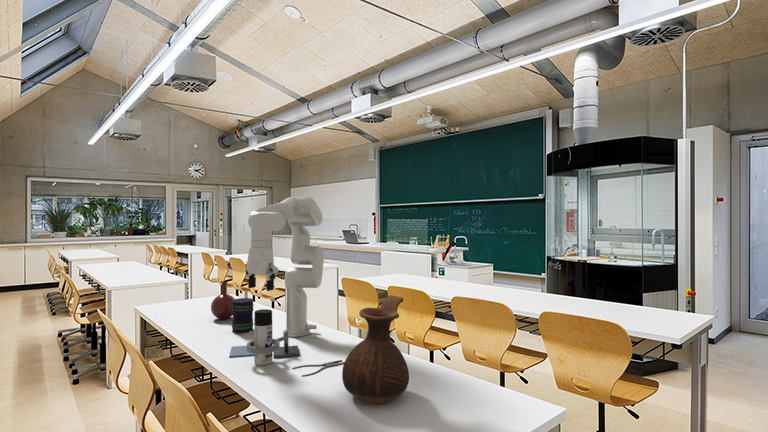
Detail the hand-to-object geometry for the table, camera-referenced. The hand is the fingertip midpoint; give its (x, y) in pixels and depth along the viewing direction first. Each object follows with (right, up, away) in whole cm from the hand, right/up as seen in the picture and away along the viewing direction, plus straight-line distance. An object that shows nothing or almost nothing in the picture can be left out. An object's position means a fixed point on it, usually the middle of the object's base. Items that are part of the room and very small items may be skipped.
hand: (260, 289), depth 159 cm
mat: (-10, -28, +13) cm, 33 cm away
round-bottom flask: (-39, -28, +65) cm, 81 cm away
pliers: (+23, -29, -3) cm, 37 cm away
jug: (+45, -29, -27) cm, 60 cm away
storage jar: (-22, -28, +43) cm, 55 cm away
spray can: (+1, -29, 0) cm, 29 cm away
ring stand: (+4, -28, +5) cm, 29 cm away
